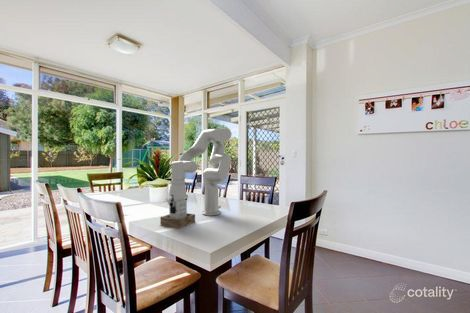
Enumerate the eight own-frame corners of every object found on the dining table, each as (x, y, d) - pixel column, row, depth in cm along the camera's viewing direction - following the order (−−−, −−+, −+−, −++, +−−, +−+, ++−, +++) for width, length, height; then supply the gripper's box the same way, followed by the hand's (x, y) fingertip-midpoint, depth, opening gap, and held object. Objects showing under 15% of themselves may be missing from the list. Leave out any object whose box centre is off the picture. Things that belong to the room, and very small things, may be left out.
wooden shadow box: (177, 218, 140) (177, 211, 140) (195, 221, 133) (195, 214, 133) (160, 224, 127) (160, 217, 127) (179, 228, 121) (179, 220, 121)
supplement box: (169, 222, 129) (168, 200, 129) (178, 219, 135) (177, 198, 135) (178, 224, 125) (178, 201, 125) (187, 220, 132) (186, 199, 132)
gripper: (183, 180, 140) (183, 207, 140) (162, 183, 124) (162, 214, 124) (192, 181, 136) (192, 209, 136) (172, 184, 121) (172, 215, 121)
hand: (178, 211), depth 130 cm, fingers open, 8 cm apart
